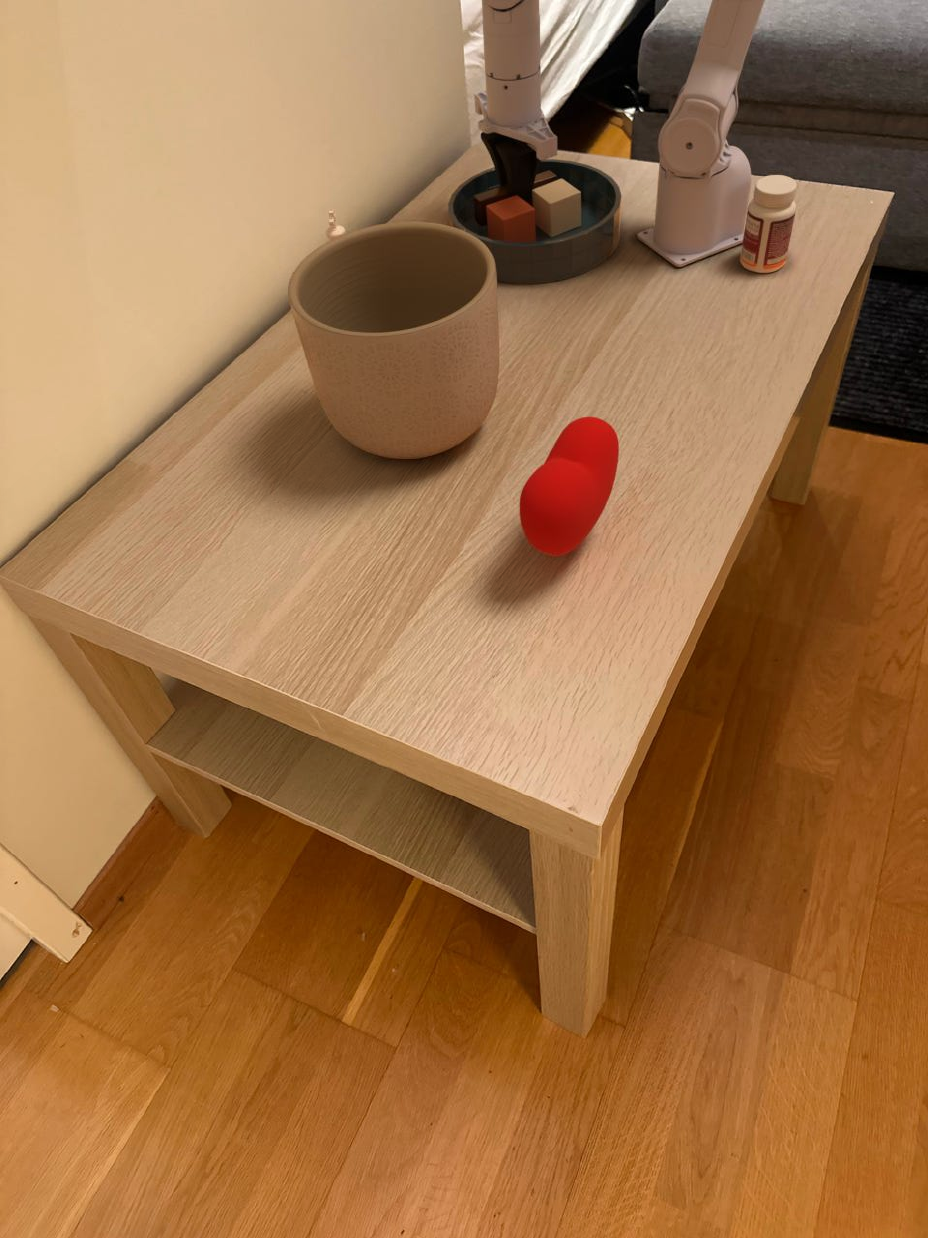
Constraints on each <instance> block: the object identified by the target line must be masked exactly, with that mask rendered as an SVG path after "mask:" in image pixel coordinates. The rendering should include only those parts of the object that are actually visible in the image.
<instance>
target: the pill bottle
mask: <svg viewBox="0 0 928 1238" xmlns="http://www.w3.org/2000/svg"><path fill="white" fill-rule="evenodd" d="M797 188H798V183H797V181H796V180H795V179H794V178H792V177H790V176H787V175H783V174H770V175H765V176H763V177H760V178H759V179H758V180H756V182H755V185H754V190H753V199H751V200H750V201H749V203H748V208H747V214H746V220H745V226H744V232H743V233H744V236H743V243H741V249H740V250H741V251H740V257H739V262H740V264H741V266H742V267H743V268H745V270H748V271H750V272H754V273H759V274H768V273H773V272H777V271H779V270H780V269H781V268H783V267H784V265H785V264H786V261H787V256H788V253H789V247H790V242H791V237H792V231H793V226H794V222H795V217H796V212H797V204H796V201H795V198H796V195H797Z"/></svg>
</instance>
